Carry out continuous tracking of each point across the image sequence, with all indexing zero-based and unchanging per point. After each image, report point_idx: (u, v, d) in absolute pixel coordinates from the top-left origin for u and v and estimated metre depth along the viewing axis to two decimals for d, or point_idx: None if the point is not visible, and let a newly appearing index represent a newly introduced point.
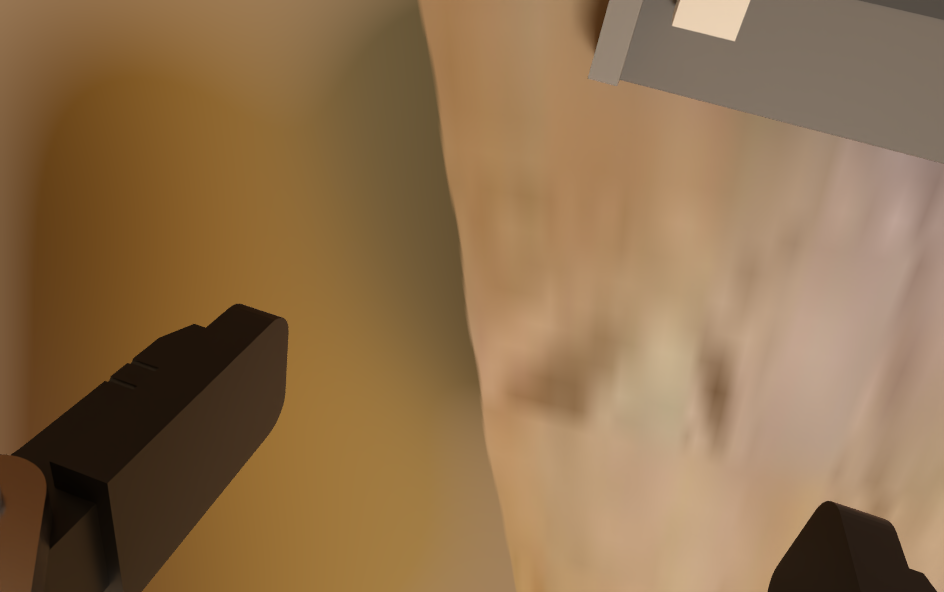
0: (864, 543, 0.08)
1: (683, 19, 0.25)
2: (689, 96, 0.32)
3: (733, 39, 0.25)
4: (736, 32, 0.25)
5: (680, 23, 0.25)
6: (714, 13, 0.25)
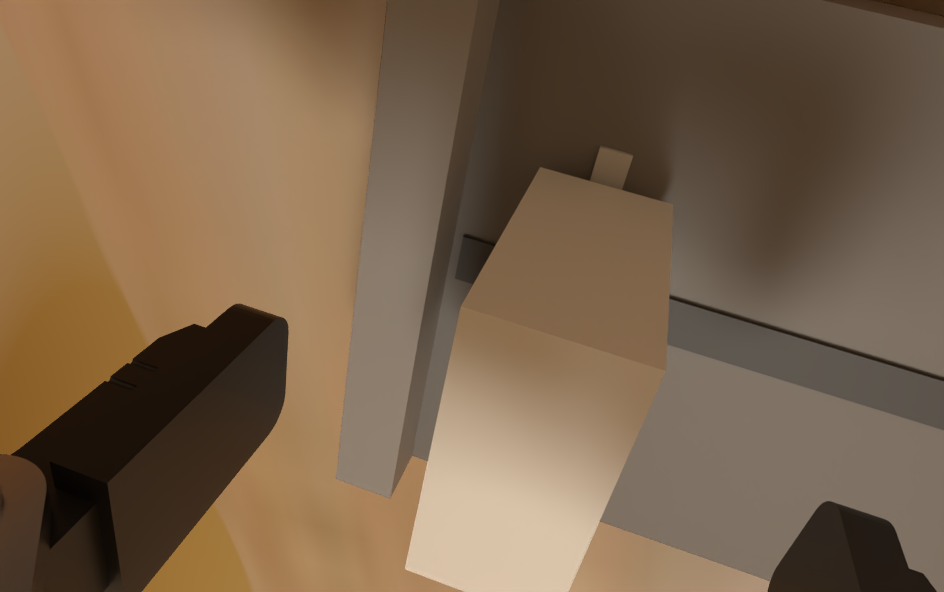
0: (864, 543, 0.08)
1: (428, 565, 0.10)
2: None
3: None
4: None
5: (423, 568, 0.10)
6: (496, 569, 0.10)
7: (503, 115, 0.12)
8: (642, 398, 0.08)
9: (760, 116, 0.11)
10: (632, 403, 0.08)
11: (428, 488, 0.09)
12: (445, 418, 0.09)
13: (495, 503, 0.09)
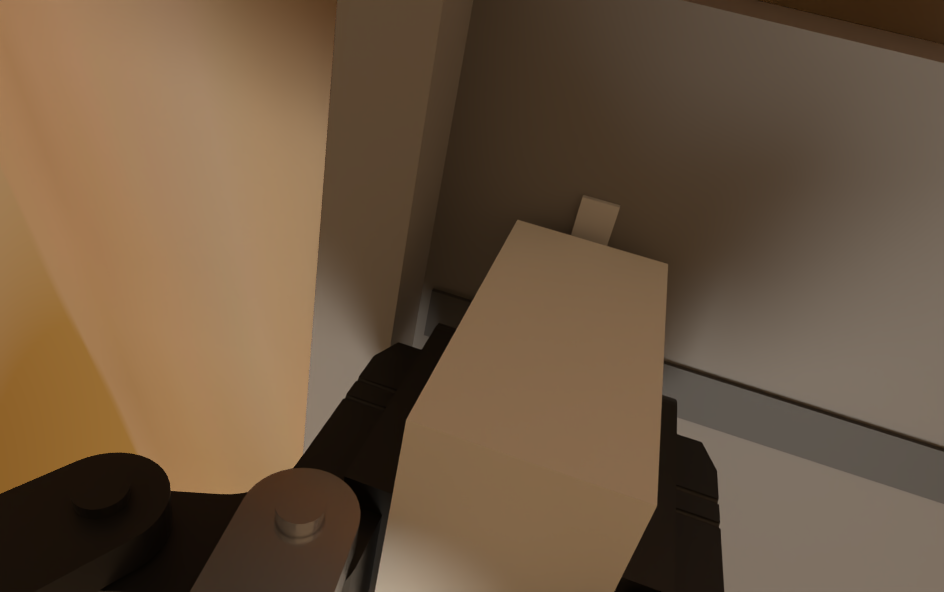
0: None
1: None
2: None
3: None
4: None
5: None
6: None
7: (473, 159, 0.11)
8: (628, 534, 0.06)
9: (764, 165, 0.10)
10: (616, 538, 0.06)
11: None
12: (394, 540, 0.07)
13: None
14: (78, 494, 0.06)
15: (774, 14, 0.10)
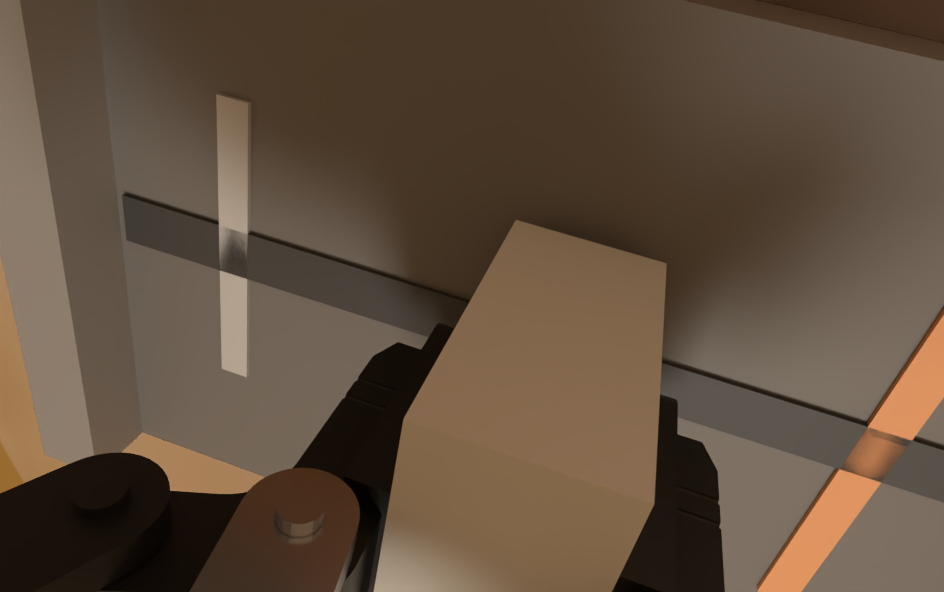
0: None
1: None
2: (266, 475, 0.16)
3: None
4: None
5: None
6: None
7: (125, 62, 0.12)
8: (626, 533, 0.06)
9: (353, 56, 0.10)
10: (614, 537, 0.06)
11: None
12: (392, 540, 0.07)
13: None
14: (78, 494, 0.06)
15: None
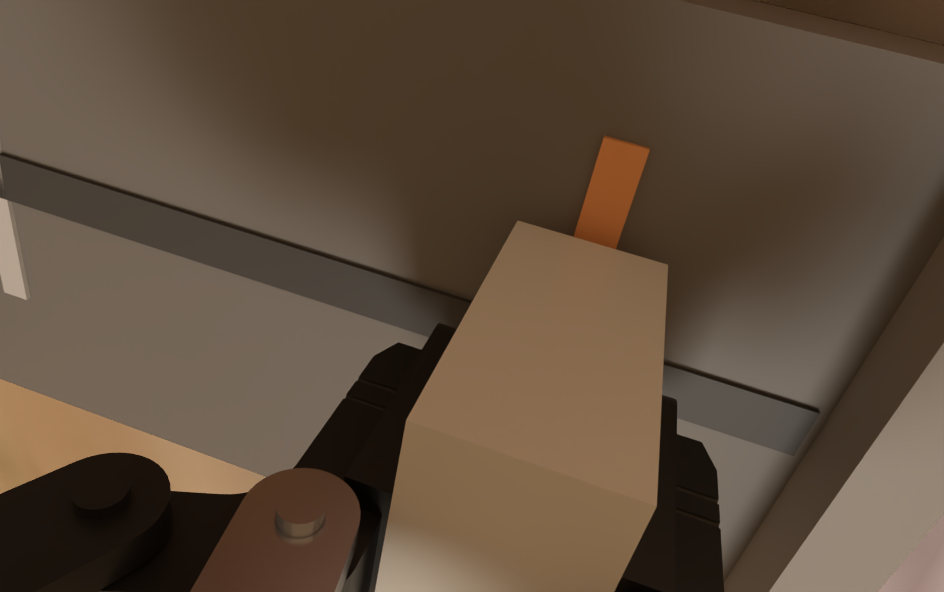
0: None
1: None
2: (65, 400, 0.17)
3: None
4: None
5: None
6: None
7: None
8: (628, 535, 0.06)
9: None
10: (616, 539, 0.06)
11: None
12: (394, 541, 0.07)
13: None
14: (78, 494, 0.06)
15: None
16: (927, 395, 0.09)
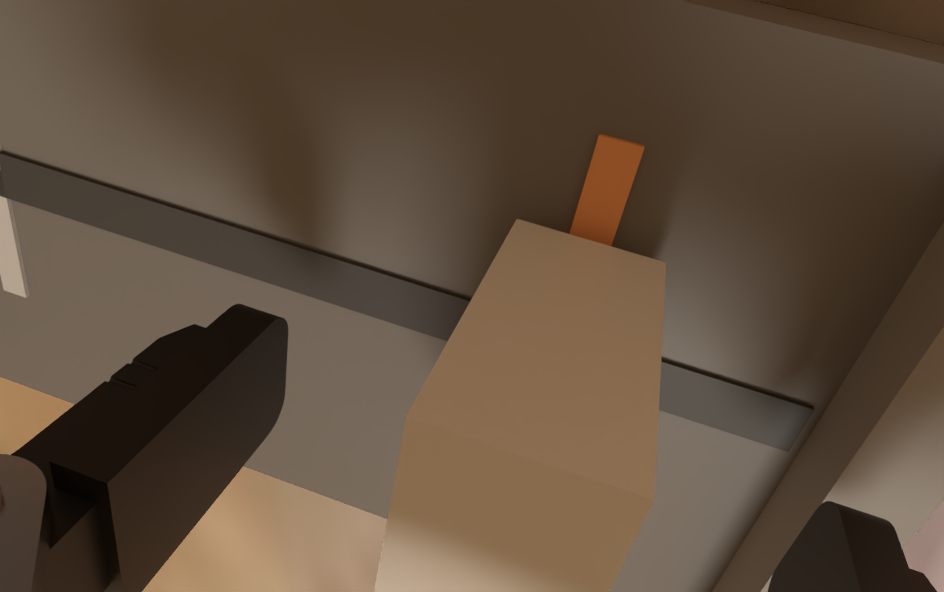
0: (864, 543, 0.08)
1: None
2: (65, 398, 0.17)
3: None
4: None
5: None
6: None
7: None
8: (625, 529, 0.06)
9: None
10: (614, 533, 0.06)
11: None
12: (394, 536, 0.07)
13: None
14: None
15: None
16: (919, 391, 0.09)
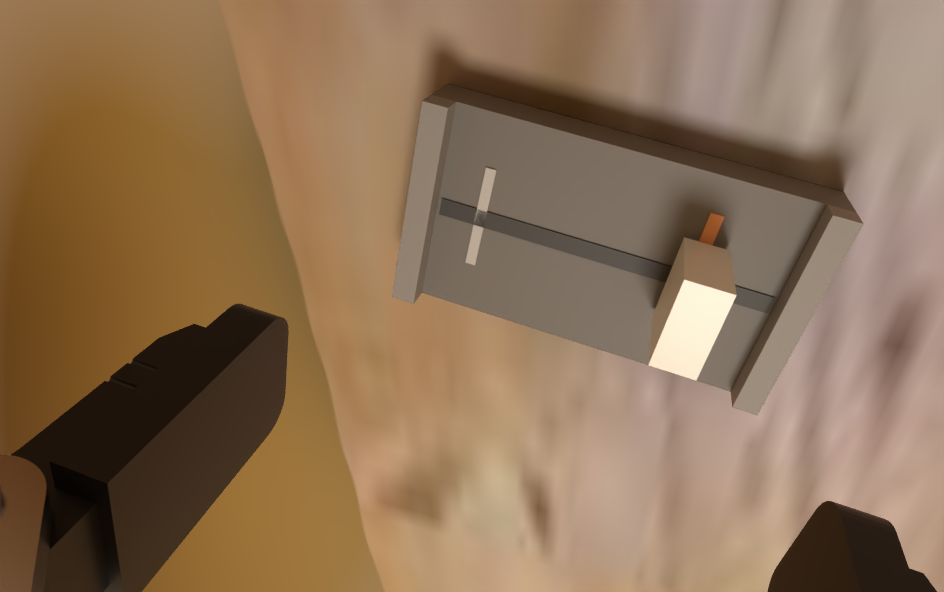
0: (864, 543, 0.08)
1: (657, 362, 0.33)
2: (473, 308, 0.41)
3: (695, 379, 0.33)
4: (697, 375, 0.33)
5: (654, 364, 0.33)
6: (680, 361, 0.32)
7: (454, 156, 0.37)
8: (730, 302, 0.30)
9: (532, 158, 0.35)
10: (727, 304, 0.30)
11: (663, 334, 0.32)
12: (673, 311, 0.31)
13: (683, 338, 0.32)
14: None
15: (535, 117, 0.35)
16: (801, 285, 0.33)
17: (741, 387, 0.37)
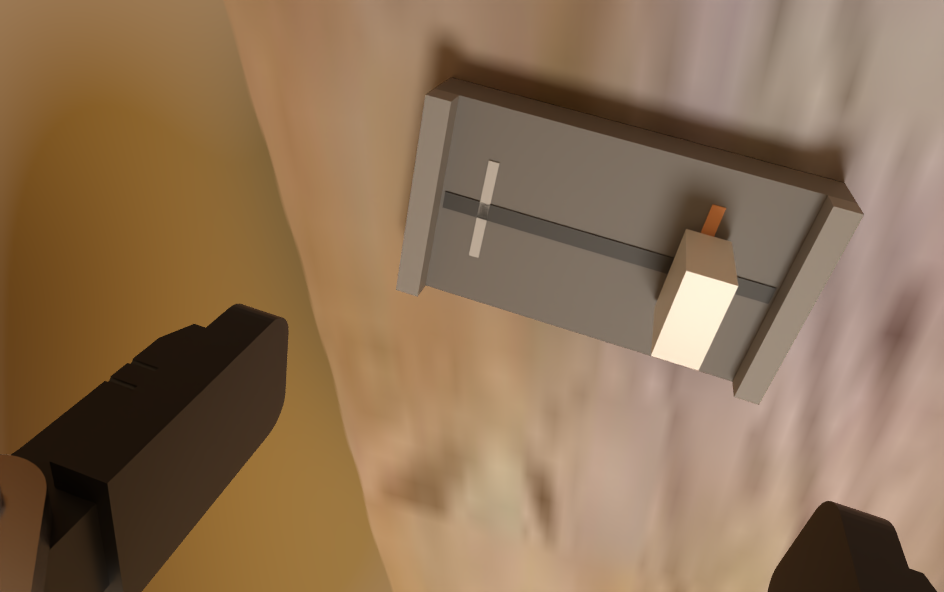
0: (864, 543, 0.08)
1: (659, 353, 0.33)
2: (476, 300, 0.41)
3: (697, 369, 0.33)
4: (699, 365, 0.33)
5: (657, 354, 0.33)
6: (682, 351, 0.33)
7: (458, 150, 0.37)
8: (731, 293, 0.31)
9: (535, 151, 0.36)
10: (729, 295, 0.31)
11: (665, 325, 0.32)
12: (675, 302, 0.32)
13: (686, 328, 0.32)
14: None
15: (538, 110, 0.36)
16: (802, 275, 0.34)
17: (743, 377, 0.37)
